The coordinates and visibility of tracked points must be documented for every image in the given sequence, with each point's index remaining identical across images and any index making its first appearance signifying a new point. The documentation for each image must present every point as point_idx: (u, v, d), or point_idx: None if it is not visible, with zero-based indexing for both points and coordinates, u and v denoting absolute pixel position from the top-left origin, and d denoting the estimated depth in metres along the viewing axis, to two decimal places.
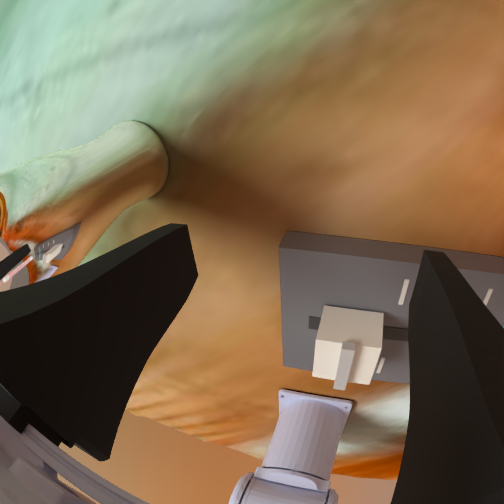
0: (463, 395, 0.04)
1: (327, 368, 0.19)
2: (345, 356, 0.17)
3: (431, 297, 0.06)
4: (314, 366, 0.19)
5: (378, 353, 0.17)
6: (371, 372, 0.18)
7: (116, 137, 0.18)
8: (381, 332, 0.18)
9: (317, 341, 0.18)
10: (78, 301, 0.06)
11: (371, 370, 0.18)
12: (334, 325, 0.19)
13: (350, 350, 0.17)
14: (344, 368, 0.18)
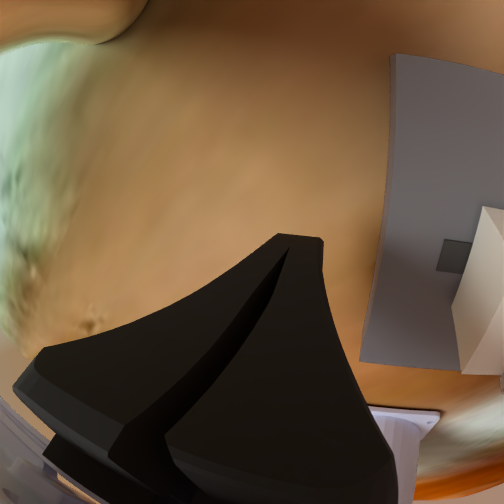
0: None
1: None
2: None
3: None
4: (479, 347, 0.07)
5: None
6: None
7: None
8: None
9: None
10: (225, 343, 0.05)
11: None
12: None
13: None
14: None
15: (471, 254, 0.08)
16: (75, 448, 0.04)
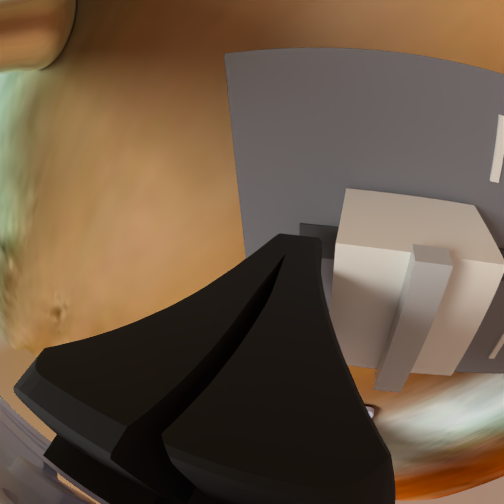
0: None
1: (362, 337, 0.08)
2: (424, 290, 0.06)
3: None
4: None
5: (495, 283, 0.05)
6: (465, 341, 0.07)
7: None
8: (489, 235, 0.06)
9: (340, 250, 0.06)
10: (227, 344, 0.05)
11: (467, 337, 0.06)
12: (378, 217, 0.07)
13: (440, 265, 0.05)
14: (414, 330, 0.06)
15: None
16: (76, 449, 0.04)
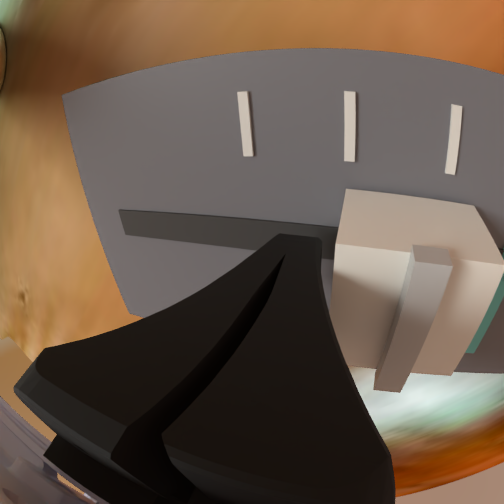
0: None
1: (363, 338, 0.08)
2: (424, 290, 0.06)
3: None
4: None
5: (495, 283, 0.05)
6: (465, 342, 0.07)
7: None
8: (488, 235, 0.06)
9: (340, 251, 0.06)
10: (227, 344, 0.05)
11: (467, 337, 0.06)
12: (378, 218, 0.07)
13: (440, 266, 0.05)
14: (414, 330, 0.06)
15: None
16: (76, 449, 0.04)
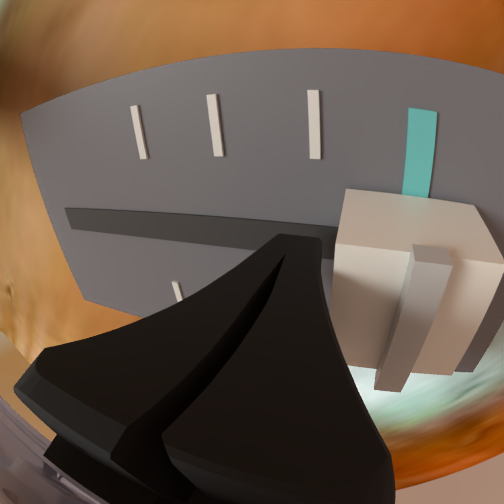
0: None
1: (363, 338, 0.08)
2: (424, 291, 0.06)
3: None
4: None
5: (495, 282, 0.05)
6: (465, 341, 0.07)
7: None
8: (488, 234, 0.06)
9: (340, 251, 0.06)
10: (227, 344, 0.05)
11: (467, 337, 0.06)
12: (379, 217, 0.07)
13: (440, 265, 0.05)
14: (414, 330, 0.06)
15: None
16: (76, 449, 0.04)
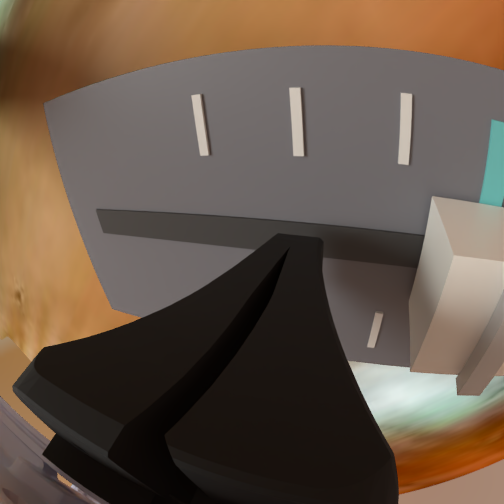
0: None
1: (455, 346, 0.07)
2: None
3: None
4: (425, 344, 0.07)
5: None
6: None
7: None
8: None
9: (456, 262, 0.06)
10: (225, 343, 0.05)
11: None
12: (475, 227, 0.06)
13: None
14: None
15: (423, 247, 0.09)
16: (75, 448, 0.04)
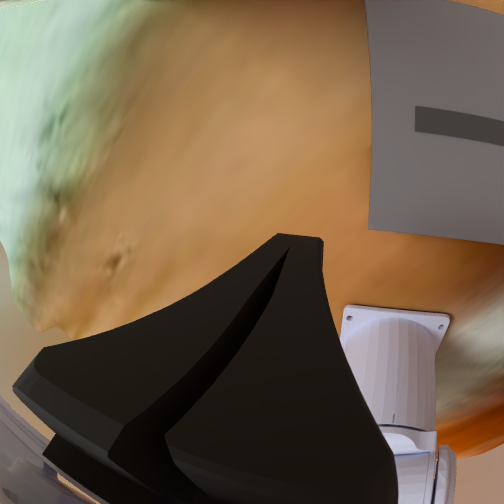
0: None
1: None
2: None
3: None
4: None
5: None
6: None
7: None
8: None
9: None
10: (225, 343, 0.05)
11: None
12: None
13: None
14: None
15: None
16: (75, 448, 0.04)
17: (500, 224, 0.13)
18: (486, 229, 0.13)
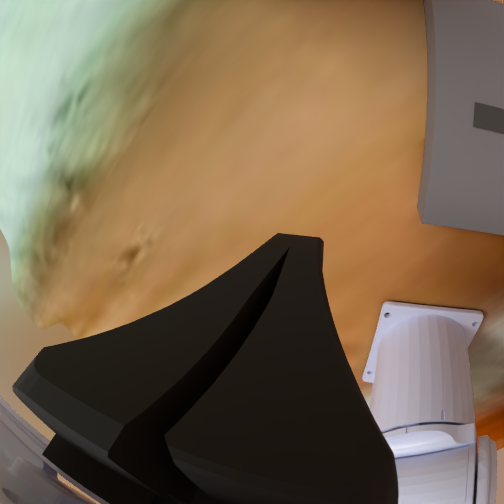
0: None
1: None
2: None
3: None
4: None
5: None
6: None
7: None
8: None
9: None
10: (225, 343, 0.05)
11: None
12: None
13: None
14: None
15: None
16: (75, 448, 0.04)
17: None
18: None
